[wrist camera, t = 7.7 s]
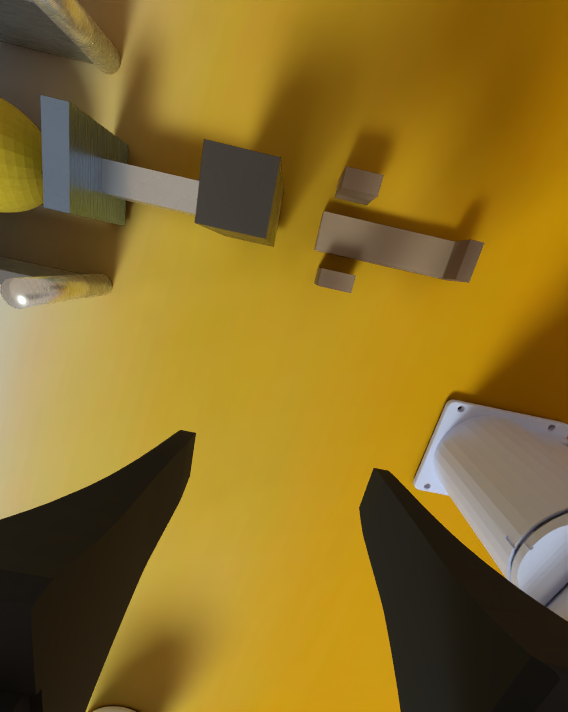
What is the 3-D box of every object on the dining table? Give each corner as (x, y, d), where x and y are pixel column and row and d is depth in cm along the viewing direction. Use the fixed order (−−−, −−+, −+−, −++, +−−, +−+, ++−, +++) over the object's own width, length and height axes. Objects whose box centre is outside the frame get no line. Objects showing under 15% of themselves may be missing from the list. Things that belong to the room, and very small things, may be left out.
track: (473, 211, 18) (501, 203, 16) (436, 310, 20) (456, 316, 18) (330, 177, 18) (337, 163, 15) (307, 281, 20) (309, 283, 17)
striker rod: (286, 182, 17) (284, 136, 11) (272, 259, 19) (262, 256, 12) (107, 140, 17) (-1, 67, 11) (105, 221, 18) (8, 199, 12)
